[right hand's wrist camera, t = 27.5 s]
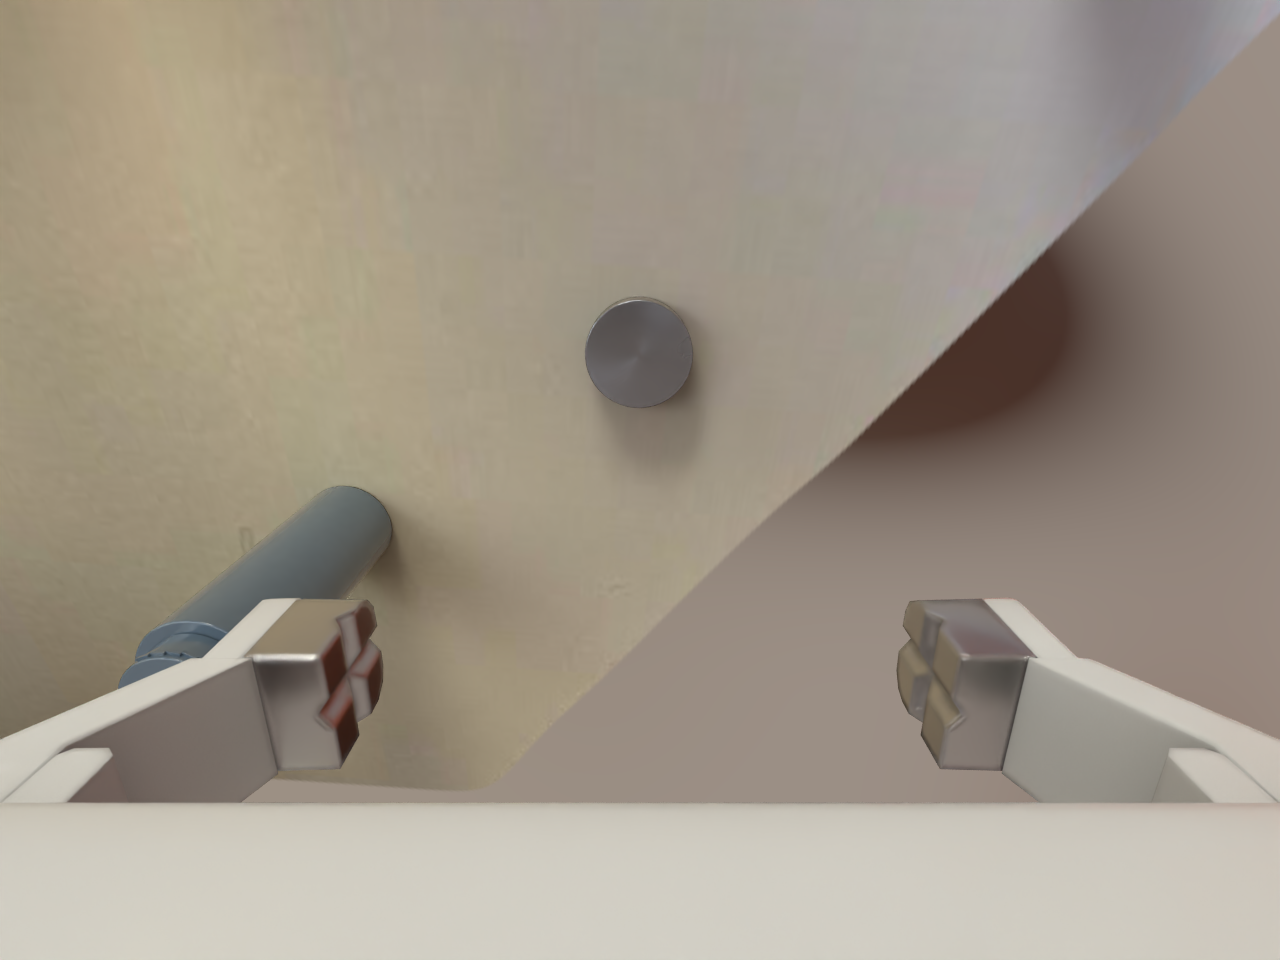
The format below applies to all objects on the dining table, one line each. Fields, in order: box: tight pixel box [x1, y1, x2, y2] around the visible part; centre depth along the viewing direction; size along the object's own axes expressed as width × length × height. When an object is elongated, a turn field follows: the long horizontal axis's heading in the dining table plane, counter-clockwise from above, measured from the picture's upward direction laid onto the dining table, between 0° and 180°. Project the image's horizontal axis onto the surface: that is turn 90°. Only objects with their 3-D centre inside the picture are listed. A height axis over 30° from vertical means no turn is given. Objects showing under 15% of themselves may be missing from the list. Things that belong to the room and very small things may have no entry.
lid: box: [585, 297, 693, 408], centre depth 35 cm, size 5×5×2 cm
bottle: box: [118, 486, 392, 689], centre depth 32 cm, size 5×5×16 cm
